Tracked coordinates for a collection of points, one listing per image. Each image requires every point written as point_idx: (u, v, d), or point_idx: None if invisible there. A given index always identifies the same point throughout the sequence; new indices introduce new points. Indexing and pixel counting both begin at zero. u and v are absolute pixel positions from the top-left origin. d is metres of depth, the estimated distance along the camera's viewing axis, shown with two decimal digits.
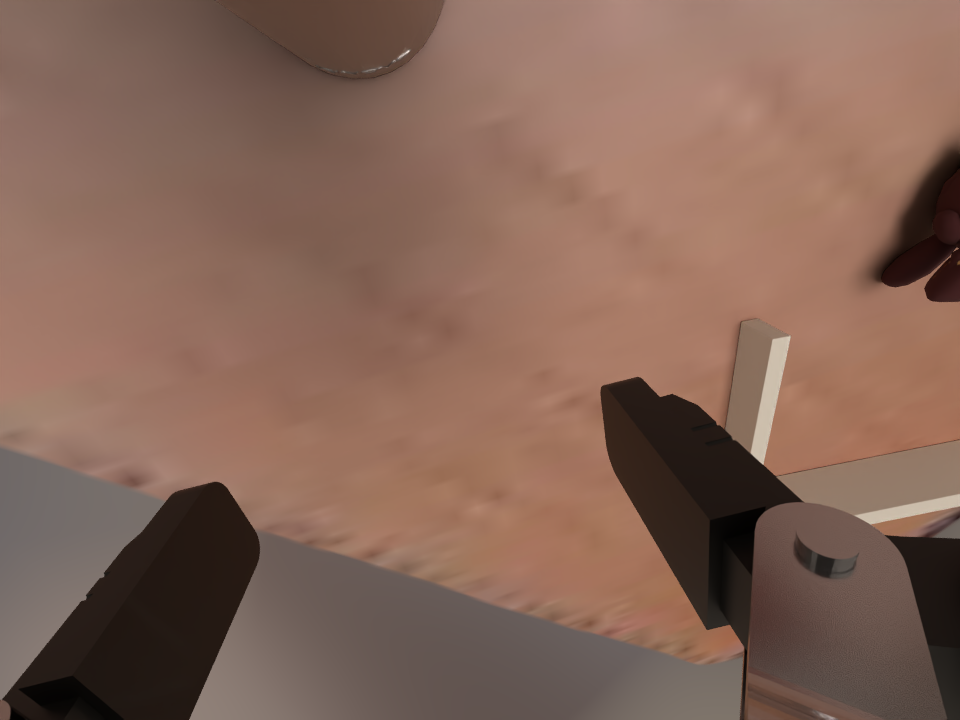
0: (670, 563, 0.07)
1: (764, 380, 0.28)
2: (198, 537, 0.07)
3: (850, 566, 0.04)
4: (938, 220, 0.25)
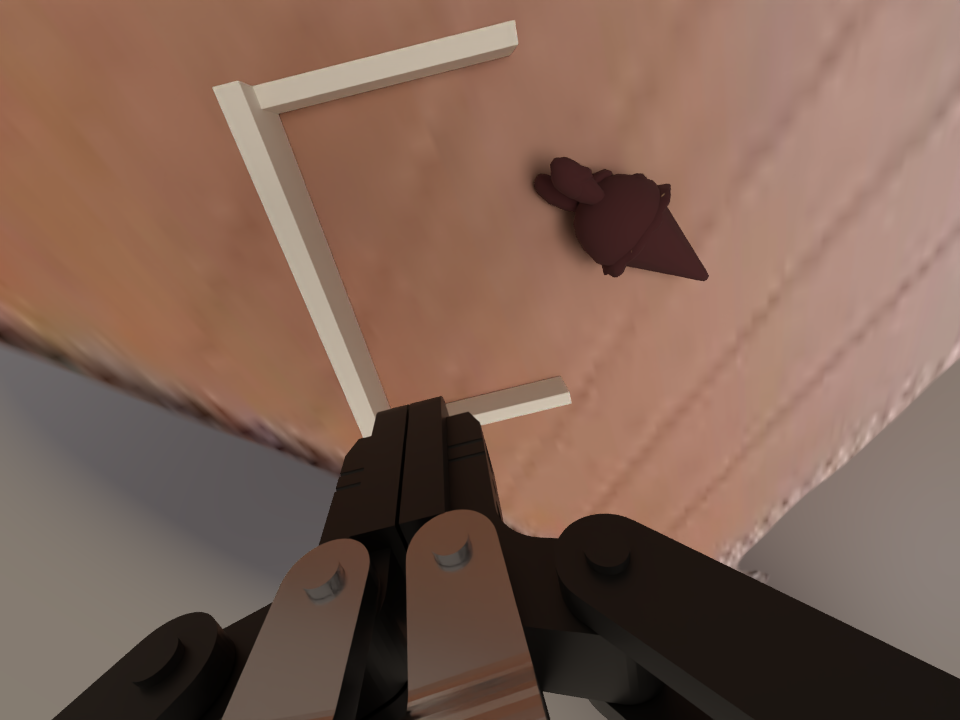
0: None
1: (463, 33, 0.25)
2: None
3: (452, 561, 0.05)
4: (603, 170, 0.29)
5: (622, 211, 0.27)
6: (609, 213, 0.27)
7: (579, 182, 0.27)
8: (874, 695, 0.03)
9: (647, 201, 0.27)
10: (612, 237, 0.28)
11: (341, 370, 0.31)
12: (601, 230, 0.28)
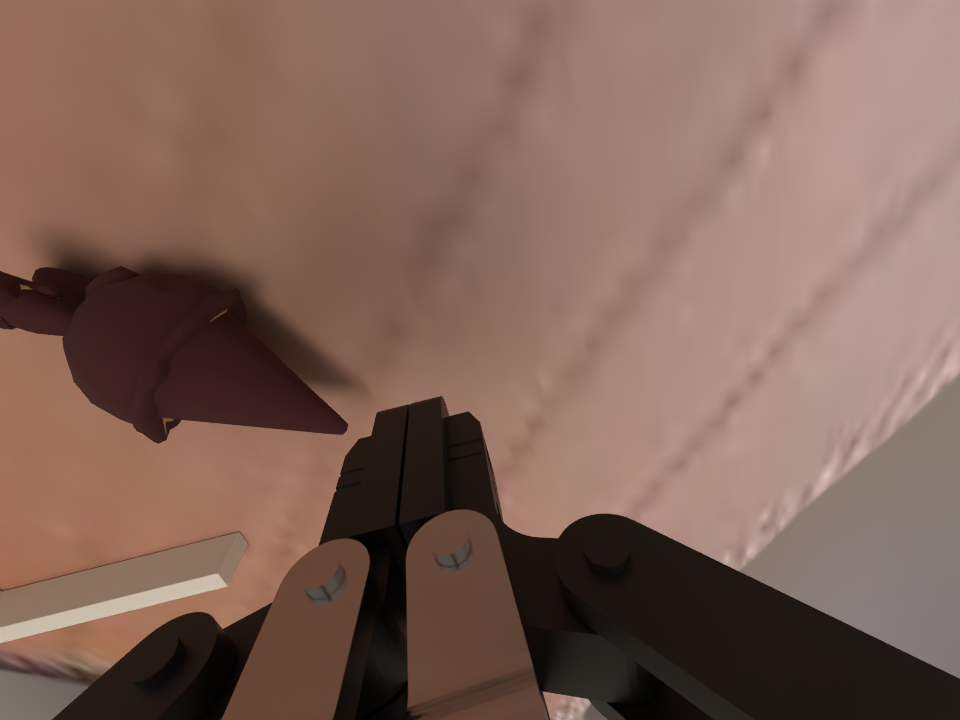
0: None
1: None
2: None
3: (453, 561, 0.05)
4: (117, 268, 0.17)
5: (84, 355, 0.15)
6: (69, 358, 0.15)
7: None
8: (876, 697, 0.03)
9: (128, 340, 0.15)
10: (93, 395, 0.16)
11: None
12: (77, 381, 0.16)
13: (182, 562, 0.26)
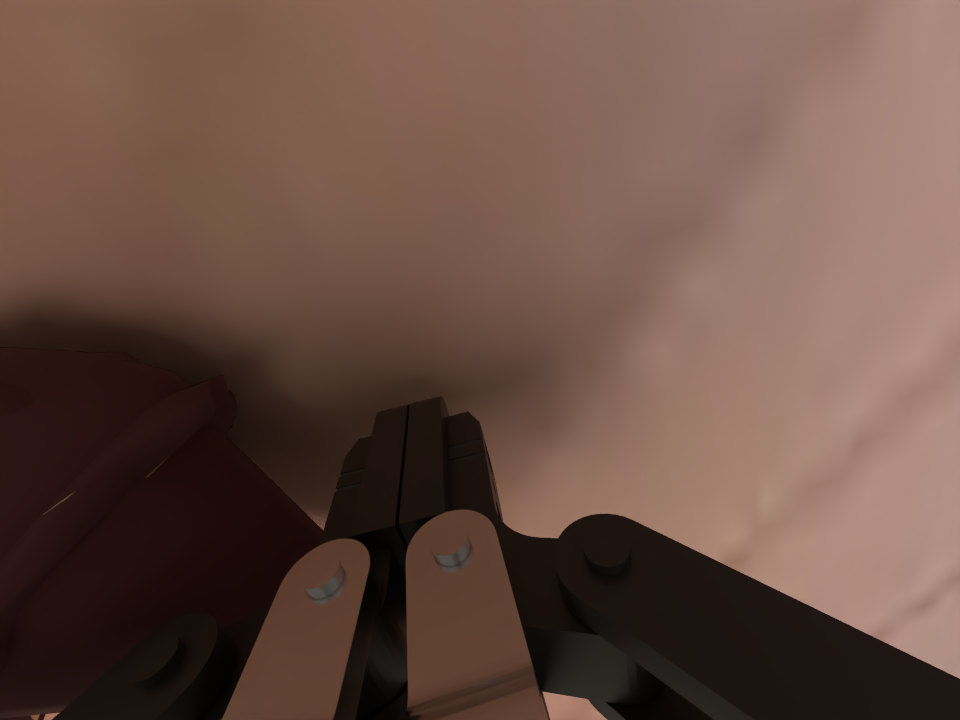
0: None
1: None
2: None
3: (452, 561, 0.05)
4: None
5: None
6: None
7: None
8: (874, 697, 0.03)
9: None
10: None
11: None
12: None
13: None
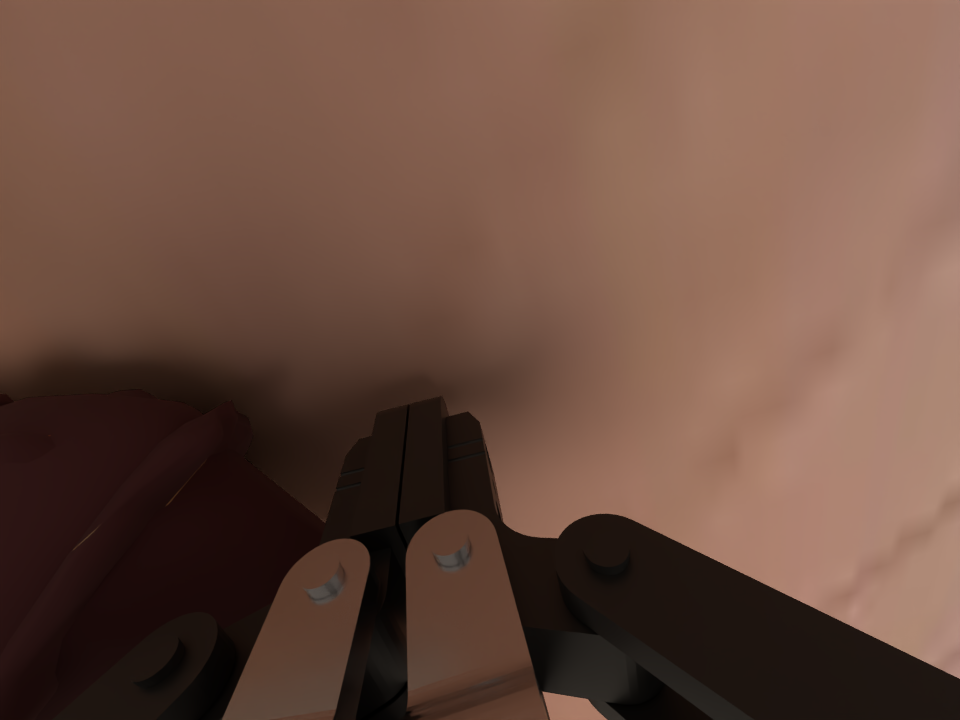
0: None
1: None
2: None
3: (453, 561, 0.05)
4: None
5: None
6: None
7: None
8: (873, 695, 0.03)
9: None
10: None
11: None
12: None
13: None
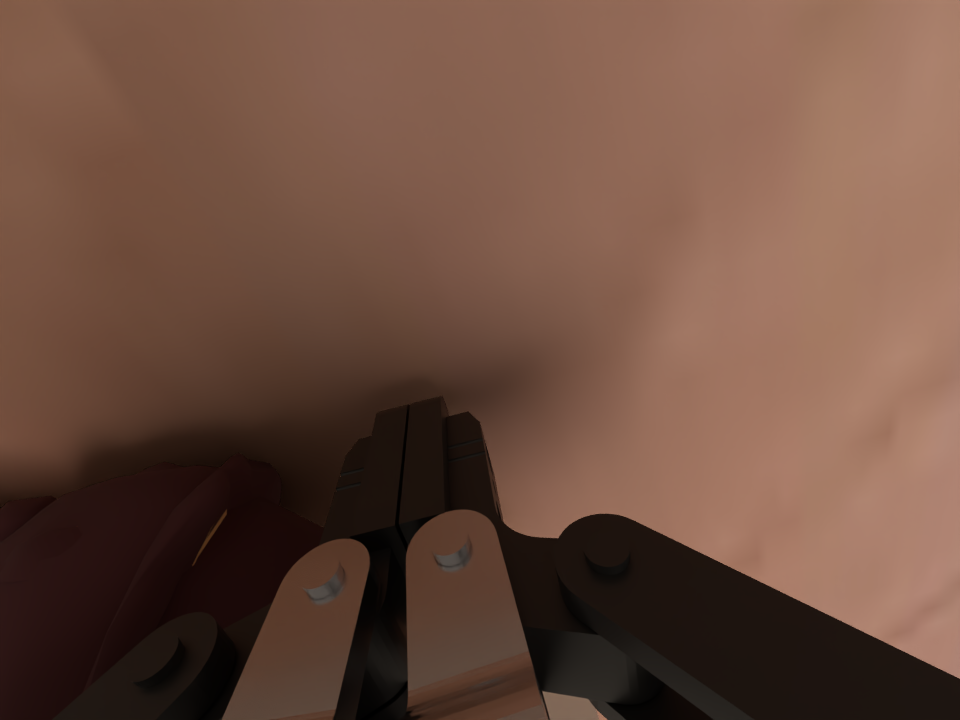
0: None
1: None
2: None
3: (453, 561, 0.05)
4: (3, 507, 0.08)
5: None
6: None
7: None
8: (874, 697, 0.03)
9: None
10: None
11: None
12: None
13: None
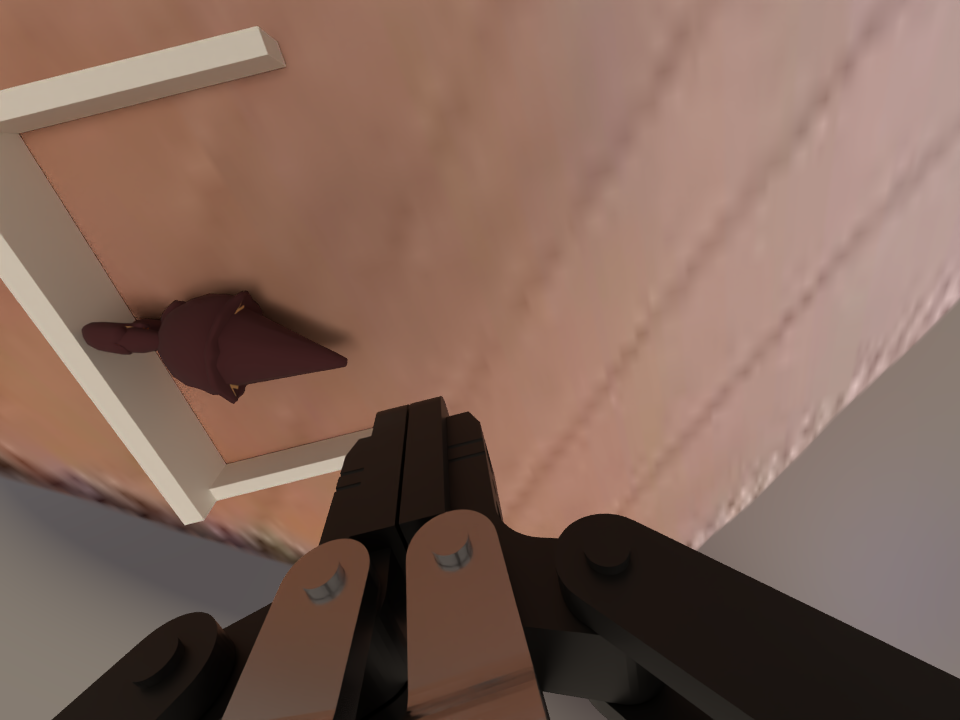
0: None
1: (198, 42, 0.21)
2: None
3: (453, 561, 0.05)
4: None
5: (171, 353, 0.25)
6: (164, 359, 0.25)
7: (111, 344, 0.24)
8: (874, 697, 0.03)
9: (190, 335, 0.24)
10: (185, 378, 0.26)
11: (118, 424, 0.27)
12: (174, 373, 0.26)
13: None
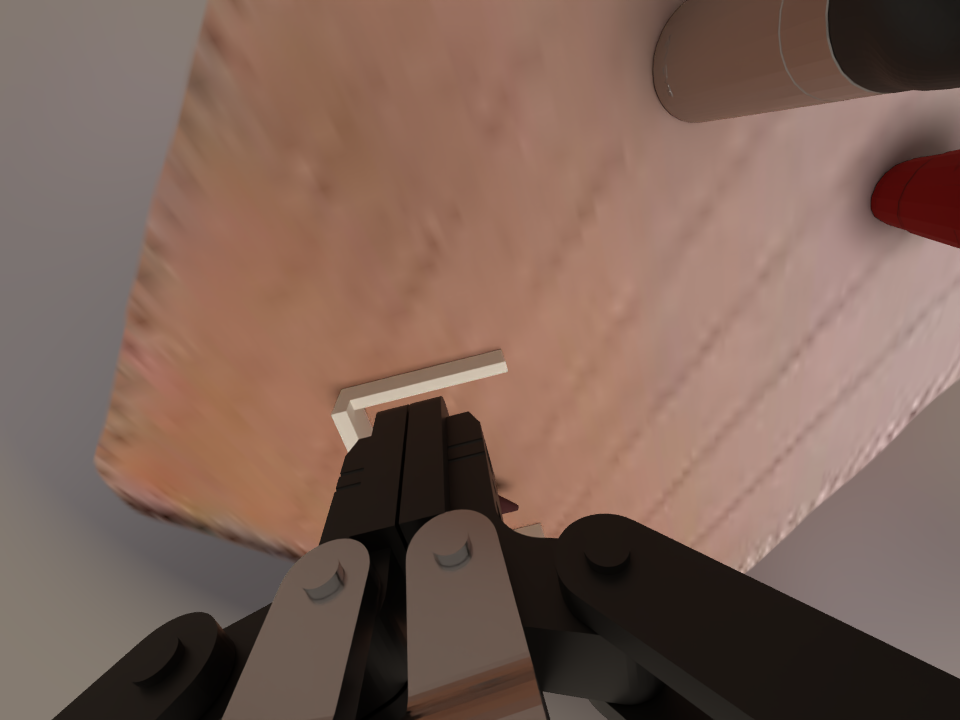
0: None
1: (475, 368, 0.42)
2: None
3: (453, 561, 0.05)
4: None
5: None
6: None
7: None
8: (874, 697, 0.03)
9: None
10: None
11: None
12: None
13: None
